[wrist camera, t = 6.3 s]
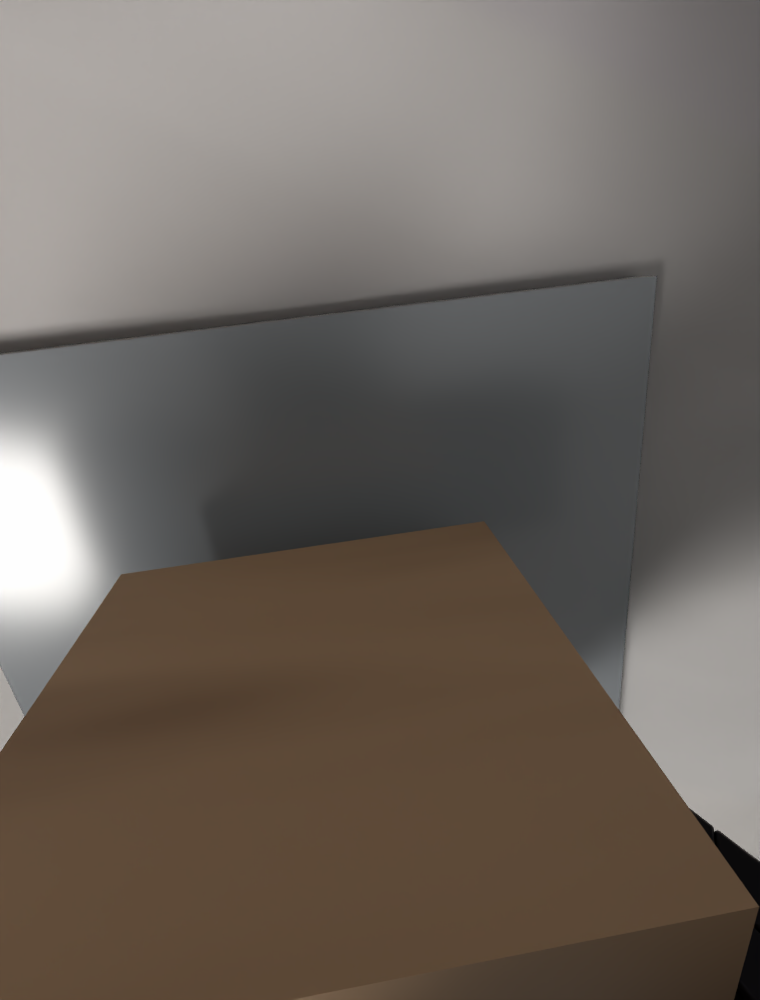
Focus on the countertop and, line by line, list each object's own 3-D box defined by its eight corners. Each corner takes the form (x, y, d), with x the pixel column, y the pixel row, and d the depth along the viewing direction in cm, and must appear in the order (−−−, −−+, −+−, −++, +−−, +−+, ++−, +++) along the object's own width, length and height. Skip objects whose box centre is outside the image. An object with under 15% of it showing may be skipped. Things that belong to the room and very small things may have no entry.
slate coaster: (599, 785, 15) (610, 804, 14) (119, 871, 14) (111, 896, 13) (637, 276, 10) (656, 275, 9) (-113, 366, 9) (-143, 372, 8)
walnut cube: (493, 777, 11) (664, 1255, 6) (207, 826, 11) (92, 1391, 5) (483, 520, 9) (757, 906, 3) (121, 574, 9) (-239, 1106, 3)
